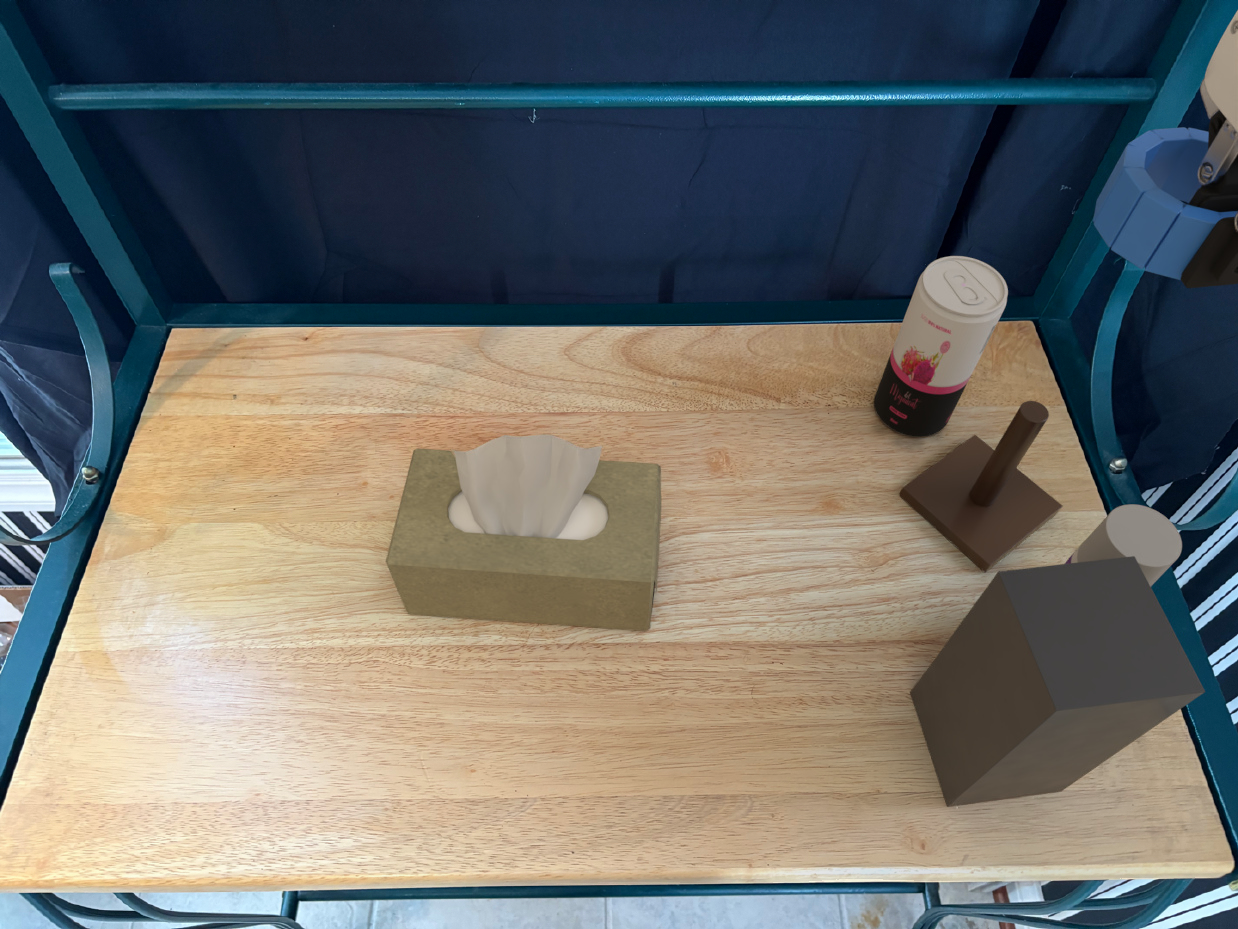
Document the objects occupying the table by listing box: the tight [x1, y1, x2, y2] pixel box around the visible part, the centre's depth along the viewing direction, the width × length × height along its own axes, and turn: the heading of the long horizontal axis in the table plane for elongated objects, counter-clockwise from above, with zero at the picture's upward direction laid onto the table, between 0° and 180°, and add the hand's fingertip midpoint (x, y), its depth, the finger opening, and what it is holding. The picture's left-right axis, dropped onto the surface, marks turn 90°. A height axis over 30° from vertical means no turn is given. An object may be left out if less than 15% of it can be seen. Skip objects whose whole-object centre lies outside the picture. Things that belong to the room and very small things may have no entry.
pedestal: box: [909, 556, 1206, 808], centre depth 56 cm, size 8×8×18 cm
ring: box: [1092, 127, 1237, 281], centre depth 47 cm, size 8×8×4 cm
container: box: [1064, 503, 1183, 588], centre depth 61 cm, size 5×5×15 cm
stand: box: [898, 400, 1063, 573], centre depth 69 cm, size 9×9×12 cm
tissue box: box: [385, 433, 662, 632], centre depth 64 cm, size 19×10×16 cm, turn 86°
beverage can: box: [873, 255, 1009, 438], centre depth 74 cm, size 6×6×15 cm
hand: (1200, 265), depth 46 cm, fingers closed on ring, 1 cm apart
